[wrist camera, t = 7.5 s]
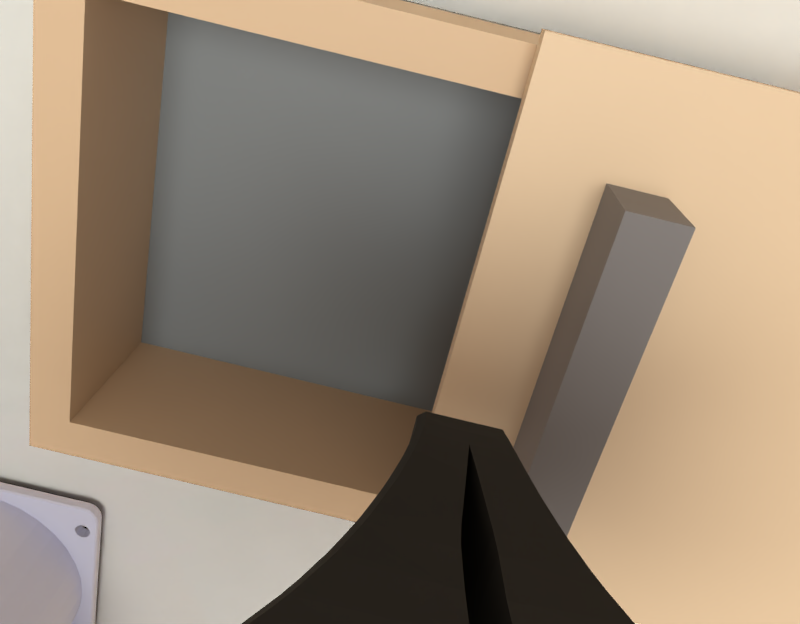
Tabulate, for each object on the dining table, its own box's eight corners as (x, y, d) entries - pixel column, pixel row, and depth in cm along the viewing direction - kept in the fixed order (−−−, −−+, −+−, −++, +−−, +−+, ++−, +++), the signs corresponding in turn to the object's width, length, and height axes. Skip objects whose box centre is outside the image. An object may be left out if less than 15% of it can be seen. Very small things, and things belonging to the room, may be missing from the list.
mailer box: (607, 470, 23) (641, 588, 19) (115, 353, 23) (29, 445, 19) (770, 90, 18) (869, 127, 14) (142, -65, 18) (34, -80, 14)
